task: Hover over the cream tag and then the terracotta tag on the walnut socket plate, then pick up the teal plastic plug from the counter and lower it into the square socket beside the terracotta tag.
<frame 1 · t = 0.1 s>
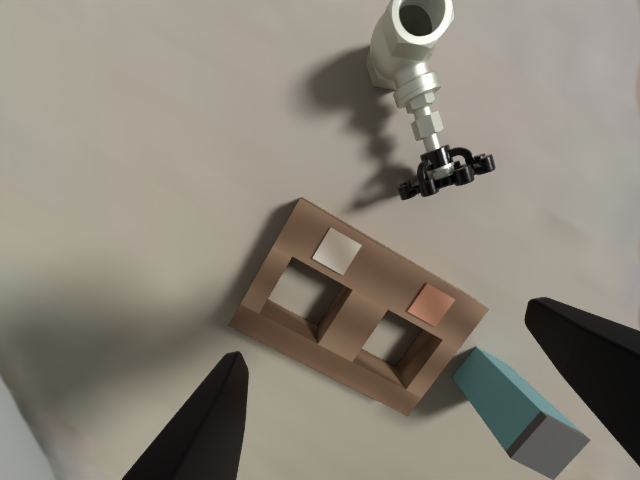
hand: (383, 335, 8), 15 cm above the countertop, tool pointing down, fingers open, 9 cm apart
plug: (479, 370, 26), on the countertop
socket plate: (353, 301, 24), on the countertop
valve: (403, 115, 22), on the countertop
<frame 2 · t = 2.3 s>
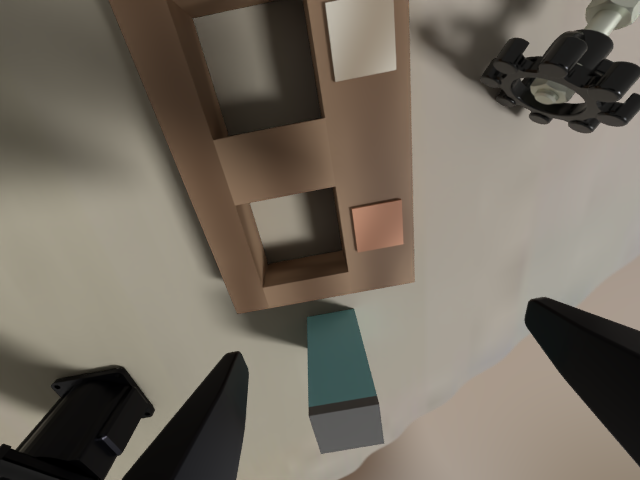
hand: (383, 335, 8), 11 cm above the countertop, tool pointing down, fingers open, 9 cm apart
plug: (334, 330, 23), on the countertop
socket plate: (297, 153, 16), on the countertop
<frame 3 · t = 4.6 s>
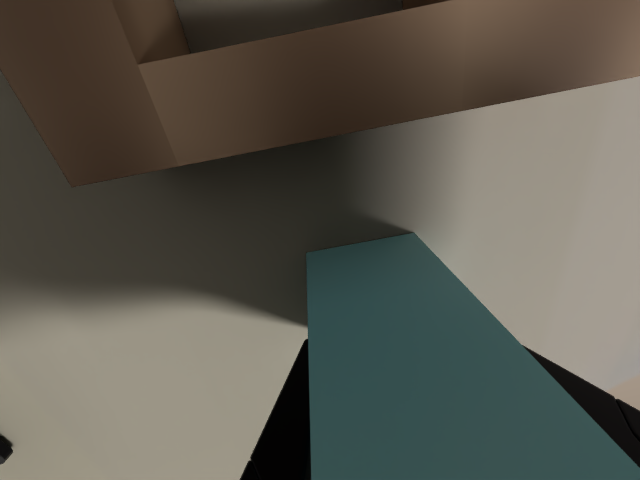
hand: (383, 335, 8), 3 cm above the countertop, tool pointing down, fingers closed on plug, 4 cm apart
plug: (365, 286, 10), on the countertop, touching gripper
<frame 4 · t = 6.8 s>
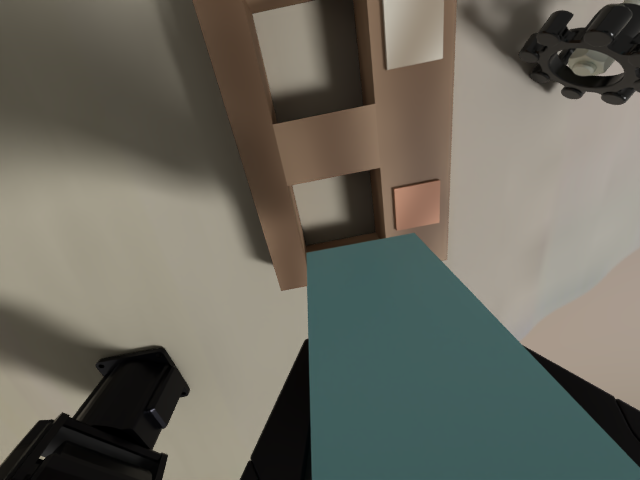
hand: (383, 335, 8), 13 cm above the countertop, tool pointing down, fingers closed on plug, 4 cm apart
plug: (365, 286, 10), point 10 cm above the countertop, touching gripper
socket plate: (339, 139, 17), on the countertop
when the fingers open (4 cm above the countertop, at t = 9.3 s): plug drops 1 cm, resting in socket plate.
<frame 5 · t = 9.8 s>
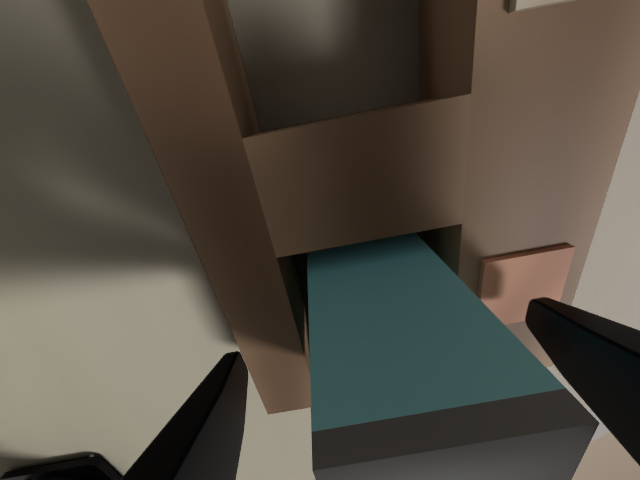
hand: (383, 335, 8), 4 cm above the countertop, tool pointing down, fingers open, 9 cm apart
plug: (358, 267, 12), resting in socket plate
socket plate: (372, 161, 10), on the countertop
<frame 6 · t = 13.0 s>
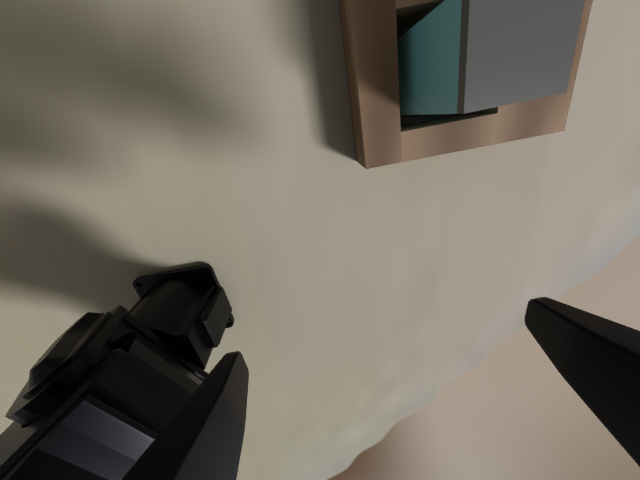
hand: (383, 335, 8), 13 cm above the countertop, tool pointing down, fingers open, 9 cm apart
plug: (426, 74, 16), resting in socket plate
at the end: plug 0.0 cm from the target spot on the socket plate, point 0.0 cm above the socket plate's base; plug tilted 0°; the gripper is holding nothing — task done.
